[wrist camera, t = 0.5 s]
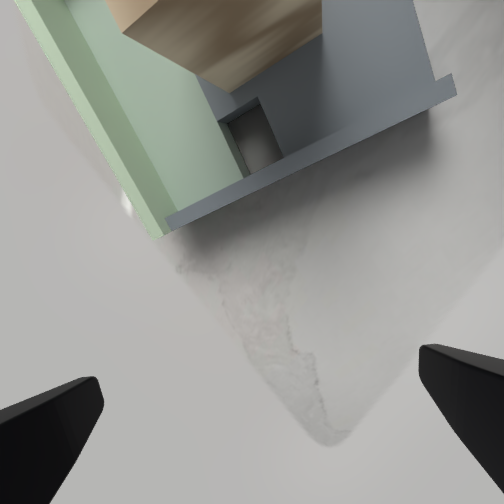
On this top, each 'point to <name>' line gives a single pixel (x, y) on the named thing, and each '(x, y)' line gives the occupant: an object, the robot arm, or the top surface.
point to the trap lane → (232, 101)
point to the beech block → (220, 33)
